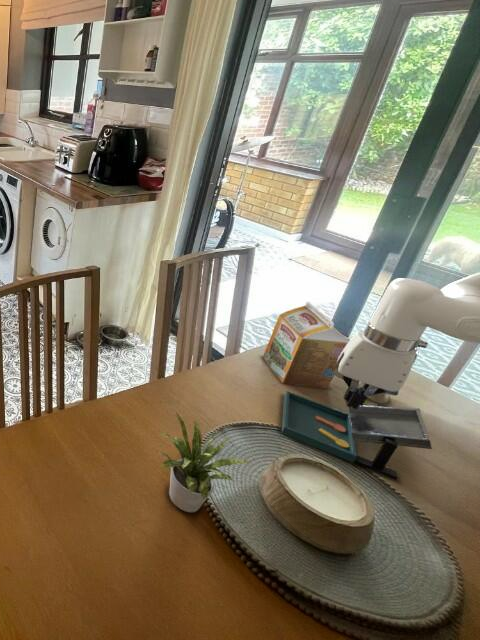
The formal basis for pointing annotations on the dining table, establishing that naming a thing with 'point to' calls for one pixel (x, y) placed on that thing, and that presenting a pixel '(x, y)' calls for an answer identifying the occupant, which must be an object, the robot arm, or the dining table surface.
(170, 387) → the dining table surface
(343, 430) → the copper key
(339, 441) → the brass key
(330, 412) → the tray
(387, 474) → the dish cradle
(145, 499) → the dining table surface
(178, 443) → the house plant
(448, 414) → the dining table surface
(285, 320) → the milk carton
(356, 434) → the key dish
